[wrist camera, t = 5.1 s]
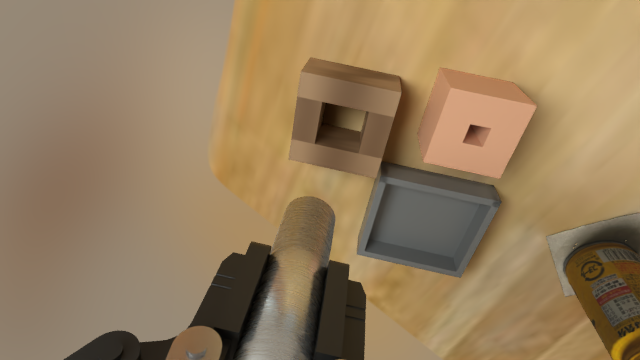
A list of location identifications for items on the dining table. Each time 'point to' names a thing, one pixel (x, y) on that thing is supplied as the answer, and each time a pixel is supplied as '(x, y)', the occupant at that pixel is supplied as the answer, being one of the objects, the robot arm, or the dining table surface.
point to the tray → (425, 219)
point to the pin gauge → (291, 286)
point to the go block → (349, 91)
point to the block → (473, 122)
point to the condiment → (604, 279)
